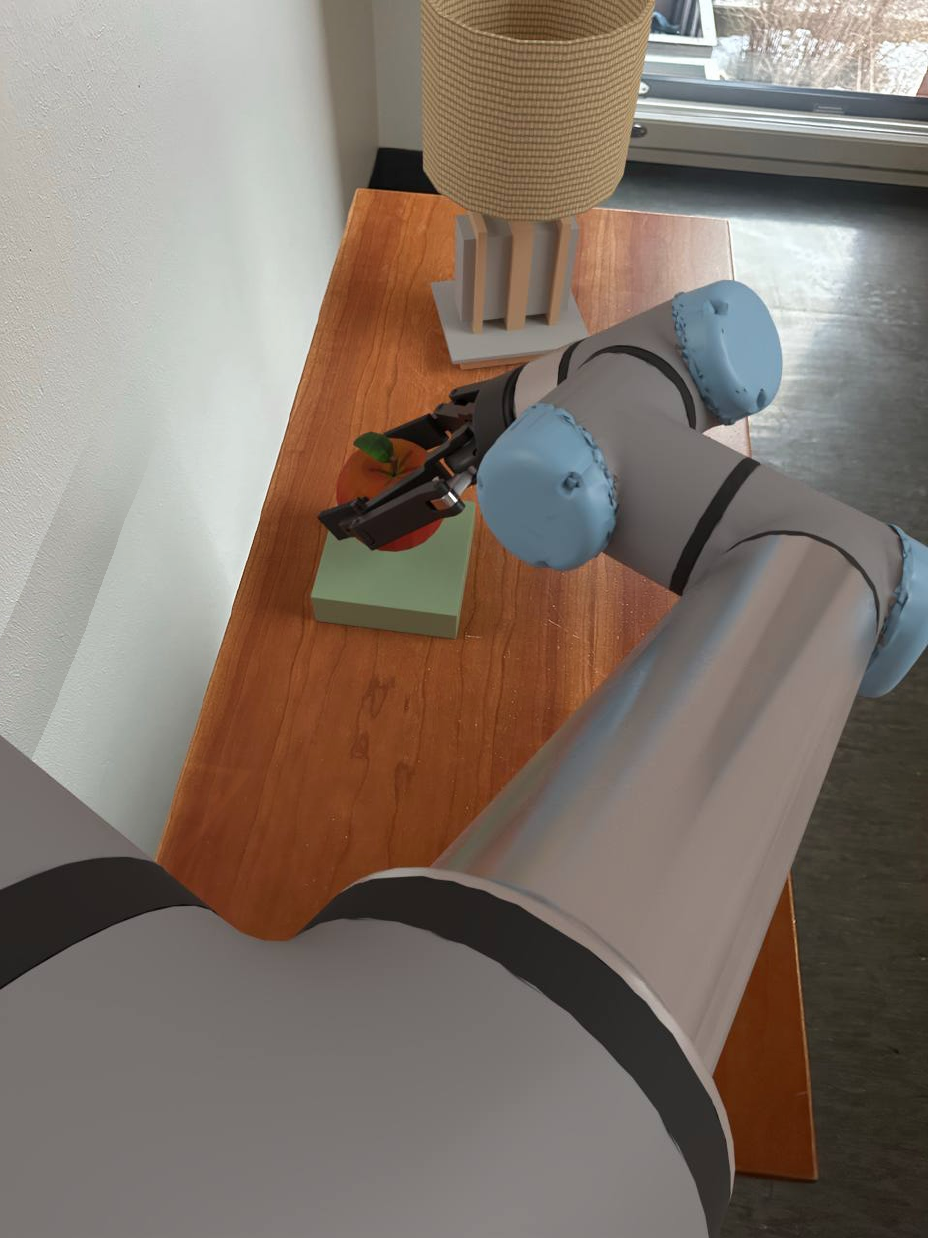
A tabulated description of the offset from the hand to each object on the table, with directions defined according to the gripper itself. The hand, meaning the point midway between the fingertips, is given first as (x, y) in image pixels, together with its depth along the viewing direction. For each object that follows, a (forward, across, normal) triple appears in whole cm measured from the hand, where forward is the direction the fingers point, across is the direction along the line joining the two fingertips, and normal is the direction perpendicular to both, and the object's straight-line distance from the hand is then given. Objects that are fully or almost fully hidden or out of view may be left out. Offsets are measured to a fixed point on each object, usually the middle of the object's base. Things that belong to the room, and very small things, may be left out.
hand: (362, 485), depth 76 cm
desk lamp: (+10, +36, -6) cm, 38 cm away
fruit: (+1, 0, -5) cm, 5 cm away
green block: (+5, 0, -10) cm, 11 cm away
